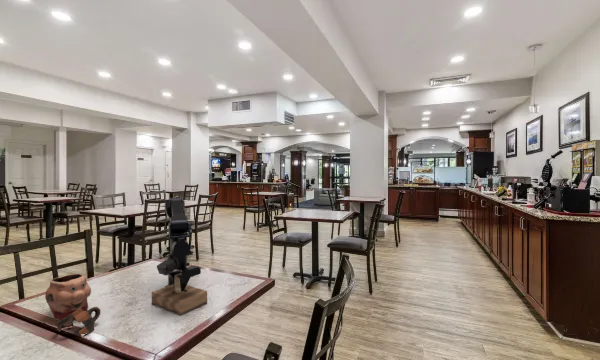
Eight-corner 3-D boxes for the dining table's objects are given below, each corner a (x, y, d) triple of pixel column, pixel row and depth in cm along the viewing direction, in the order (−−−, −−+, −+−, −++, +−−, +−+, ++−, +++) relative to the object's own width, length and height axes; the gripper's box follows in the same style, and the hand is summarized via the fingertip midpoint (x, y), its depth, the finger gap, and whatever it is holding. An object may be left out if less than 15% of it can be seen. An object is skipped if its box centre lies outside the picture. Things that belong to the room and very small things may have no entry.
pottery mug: (74, 344, 89) (59, 321, 89) (61, 349, 94) (47, 328, 93) (111, 317, 100) (98, 297, 100) (98, 323, 104) (85, 303, 104)
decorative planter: (32, 316, 106) (31, 278, 106) (70, 303, 117) (69, 268, 117) (65, 328, 98) (64, 286, 98) (102, 312, 109) (102, 275, 109)
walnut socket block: (151, 304, 116) (151, 291, 116) (178, 294, 126) (178, 282, 126) (180, 315, 106) (180, 301, 106) (207, 303, 117) (207, 291, 117)
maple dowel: (172, 298, 116) (172, 275, 116) (180, 295, 119) (180, 273, 119) (178, 300, 114) (178, 277, 114) (186, 297, 117) (186, 274, 117)
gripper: (145, 252, 114) (146, 292, 114) (176, 259, 104) (176, 302, 105) (171, 246, 124) (171, 283, 124) (201, 252, 114) (201, 292, 114)
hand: (179, 290), depth 116 cm, fingers closed on maple dowel, 3 cm apart
